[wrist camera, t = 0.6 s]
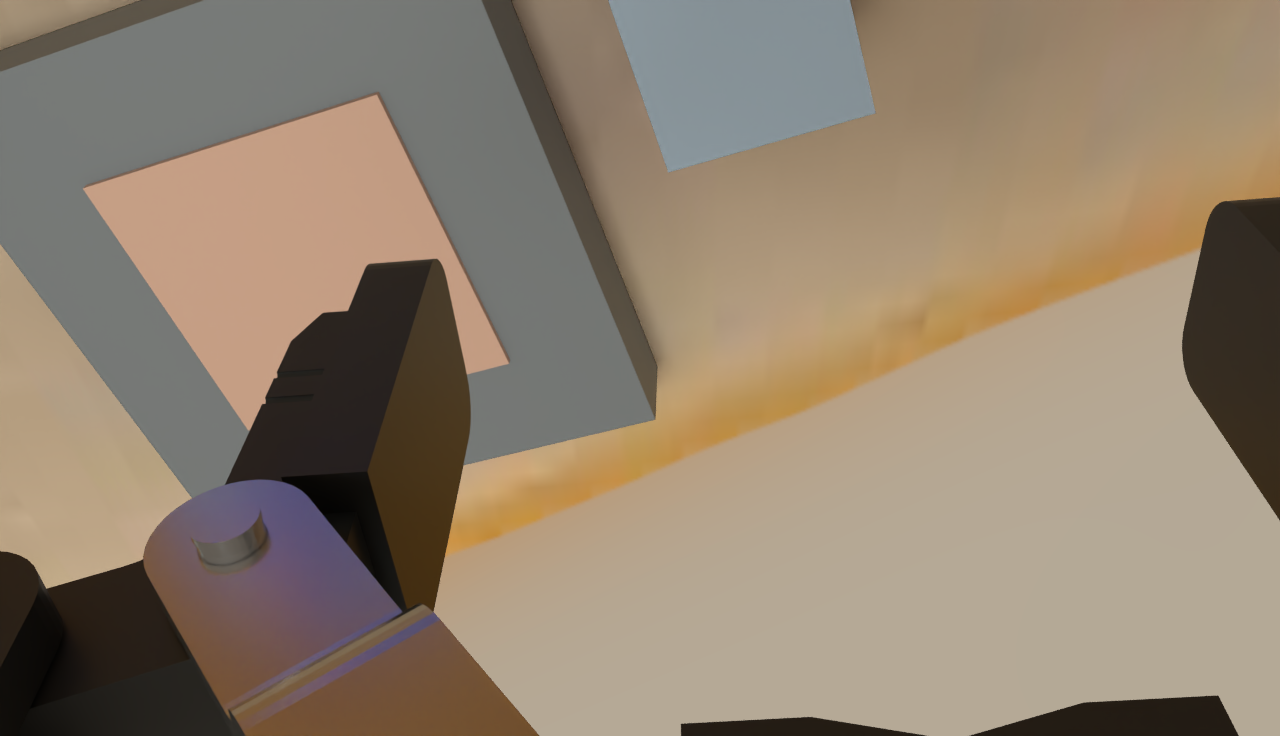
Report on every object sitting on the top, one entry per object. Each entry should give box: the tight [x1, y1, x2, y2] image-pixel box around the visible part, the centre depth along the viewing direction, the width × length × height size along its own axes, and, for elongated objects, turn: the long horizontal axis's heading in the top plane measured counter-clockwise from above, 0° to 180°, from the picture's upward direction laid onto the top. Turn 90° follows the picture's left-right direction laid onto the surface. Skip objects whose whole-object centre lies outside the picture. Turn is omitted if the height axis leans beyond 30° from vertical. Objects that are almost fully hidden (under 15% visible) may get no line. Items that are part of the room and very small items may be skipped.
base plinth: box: [0, 0, 657, 498], centre depth 34 cm, size 16×16×3 cm
